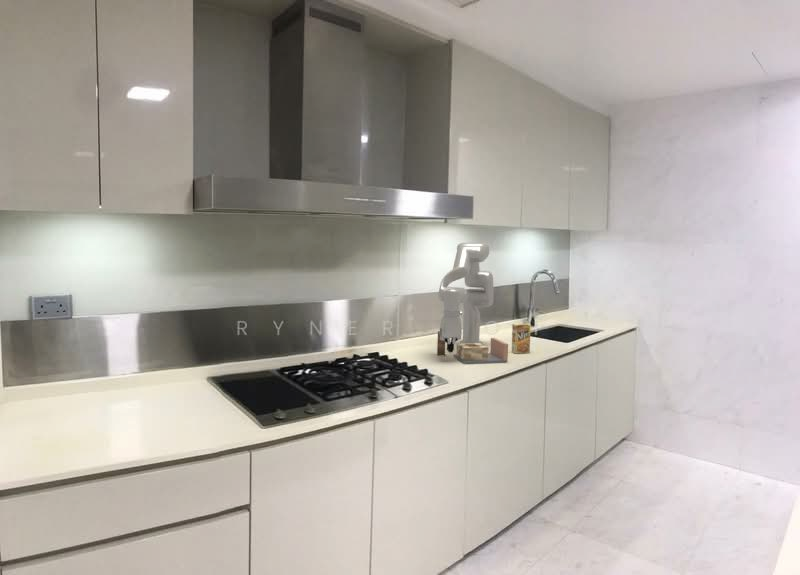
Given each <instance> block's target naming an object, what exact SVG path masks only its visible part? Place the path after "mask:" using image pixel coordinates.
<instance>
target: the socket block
mask: <svg viewBox="0 0 800 575" xmlns="http://www.w3.org/2000/svg"><path fill="white" fill-rule="evenodd" d="M455 347H456V350H455V351H456V353H455V354H456V355H457V356H458V357H460V358H461V359H463V360H464V361H469V360H488V353H489V347H488V346H486V345H484V344H483V343H482V344H480V343H460V342H459V343H457V342H456V346H455Z"/></svg>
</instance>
